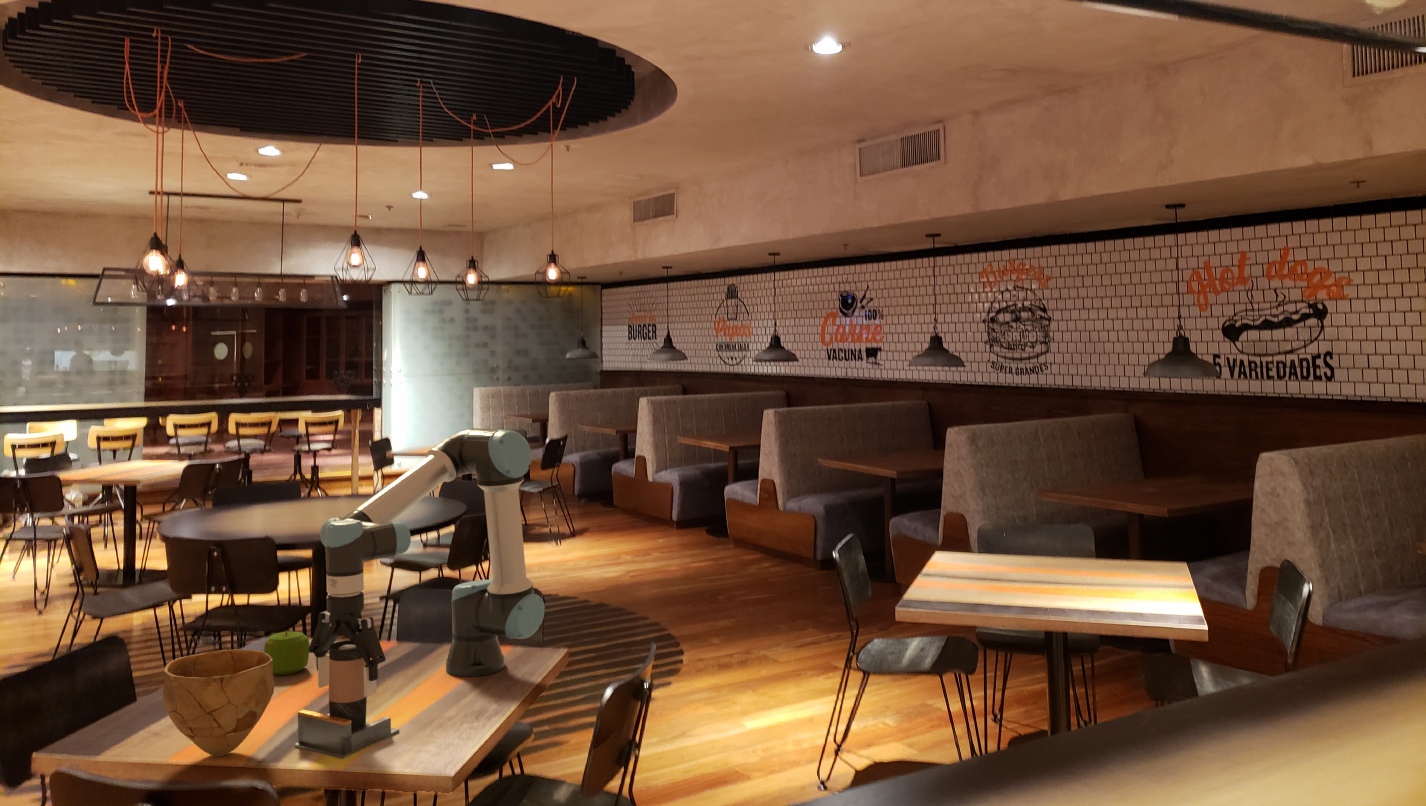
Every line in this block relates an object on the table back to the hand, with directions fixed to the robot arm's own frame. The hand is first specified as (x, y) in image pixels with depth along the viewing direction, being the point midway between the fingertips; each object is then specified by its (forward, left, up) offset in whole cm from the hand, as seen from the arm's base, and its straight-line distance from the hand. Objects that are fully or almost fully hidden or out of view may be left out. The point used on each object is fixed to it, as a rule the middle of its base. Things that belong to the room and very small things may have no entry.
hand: (347, 690), depth 210 cm
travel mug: (0, 0, -10) cm, 10 cm away
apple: (-27, -51, -11) cm, 59 cm away
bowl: (+18, -17, -11) cm, 27 cm away
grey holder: (0, 0, -11) cm, 11 cm away
